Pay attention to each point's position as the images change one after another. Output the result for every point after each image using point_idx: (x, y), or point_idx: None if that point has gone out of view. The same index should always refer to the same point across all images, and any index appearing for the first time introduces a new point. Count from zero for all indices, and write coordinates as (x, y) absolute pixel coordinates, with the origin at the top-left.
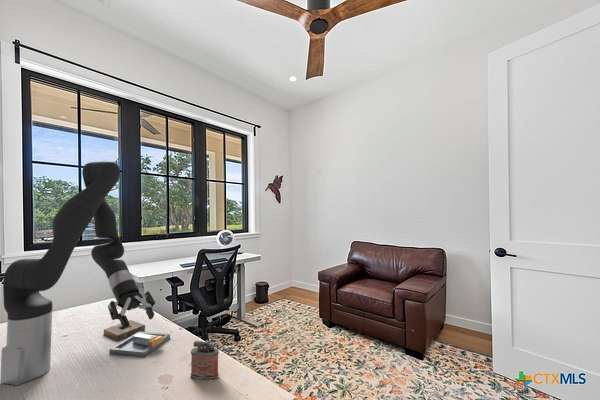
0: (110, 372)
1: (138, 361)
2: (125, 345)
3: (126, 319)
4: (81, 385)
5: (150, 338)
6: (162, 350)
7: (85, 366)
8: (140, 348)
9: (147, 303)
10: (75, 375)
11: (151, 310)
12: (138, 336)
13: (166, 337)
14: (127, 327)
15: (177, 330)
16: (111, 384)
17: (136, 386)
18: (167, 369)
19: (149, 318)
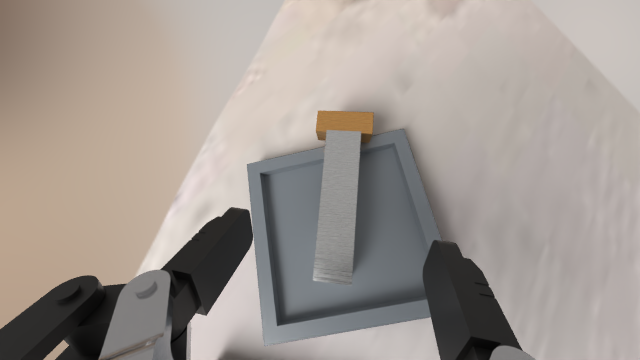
0: (526, 156)
1: (428, 132)
2: (382, 288)
3: (464, 284)
4: (634, 172)
5: (356, 140)
6: None
7: (575, 302)
8: (372, 194)
9: (119, 332)
10: (632, 267)
11: (192, 249)
12: (351, 235)
13: (272, 160)
14: (427, 264)
15: (188, 197)
16: (557, 91)
17: (513, 27)
18: (413, 24)
19: (248, 244)
